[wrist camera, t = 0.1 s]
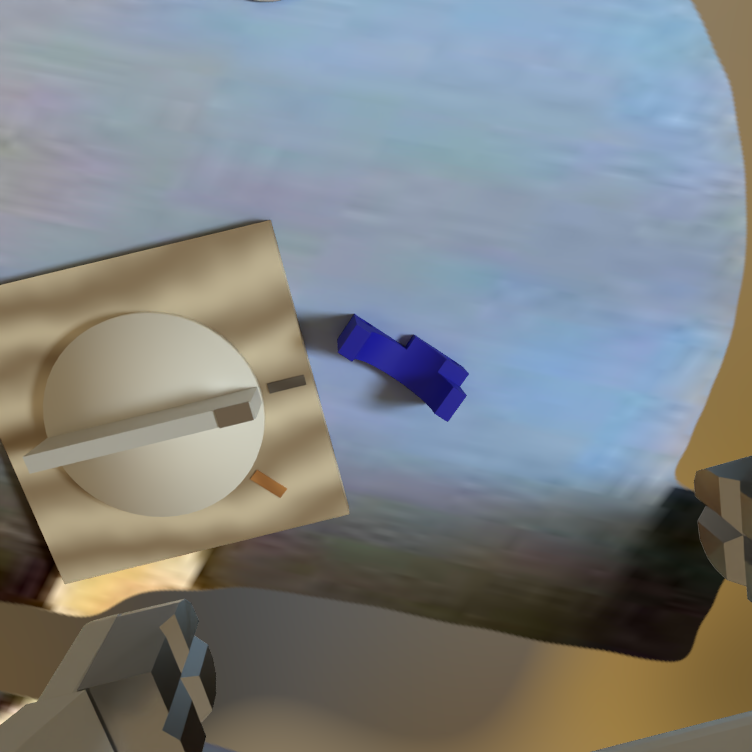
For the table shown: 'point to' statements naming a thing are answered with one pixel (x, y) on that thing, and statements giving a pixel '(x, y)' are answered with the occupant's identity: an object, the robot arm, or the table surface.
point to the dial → (152, 414)
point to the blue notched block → (407, 365)
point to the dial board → (227, 317)
